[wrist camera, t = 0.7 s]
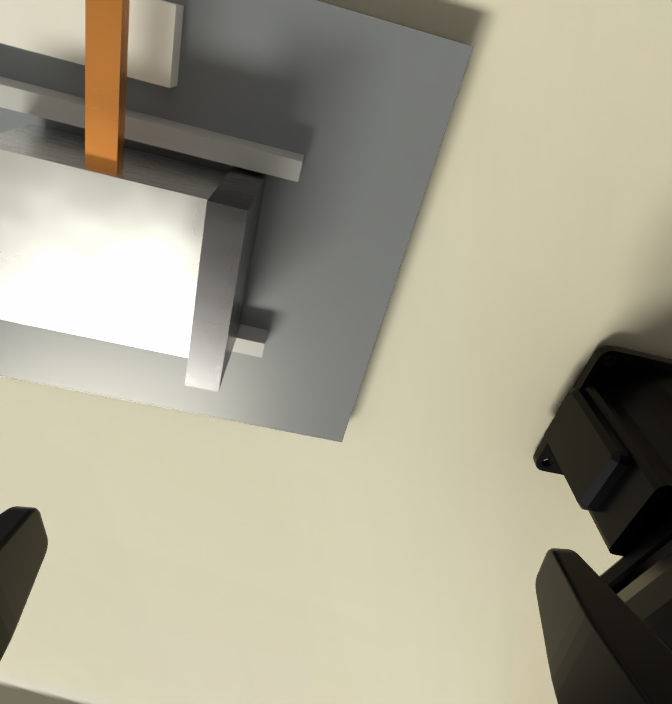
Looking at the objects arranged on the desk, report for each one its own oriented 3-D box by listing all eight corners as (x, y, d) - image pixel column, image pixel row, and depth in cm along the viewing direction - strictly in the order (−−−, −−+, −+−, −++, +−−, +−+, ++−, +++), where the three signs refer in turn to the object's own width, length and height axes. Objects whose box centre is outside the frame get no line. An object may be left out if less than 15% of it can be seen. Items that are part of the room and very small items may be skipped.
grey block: (292, 28, 14) (277, 29, 11) (239, 327, 19) (218, 392, 16) (23, -49, 14) (-84, -75, 10) (38, 284, 18) (-30, 342, 15)
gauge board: (466, 45, 16) (513, 51, 11) (341, 427, 23) (342, 516, 19) (-467, -231, 13) (-868, -360, 9) (-262, 308, 20) (-421, 381, 16)
